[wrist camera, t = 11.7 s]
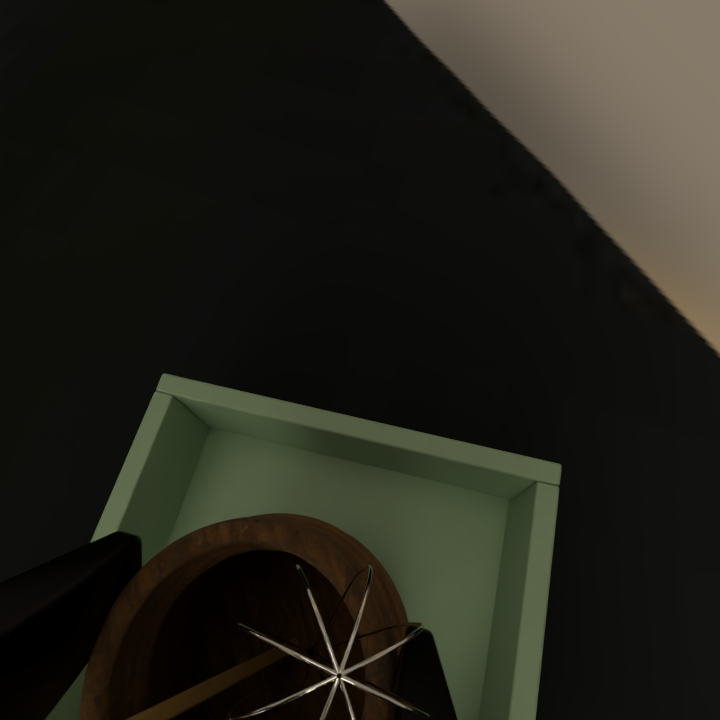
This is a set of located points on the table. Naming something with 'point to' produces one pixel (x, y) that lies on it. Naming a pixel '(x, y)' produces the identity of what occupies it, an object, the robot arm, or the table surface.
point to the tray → (362, 520)
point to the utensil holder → (252, 629)
